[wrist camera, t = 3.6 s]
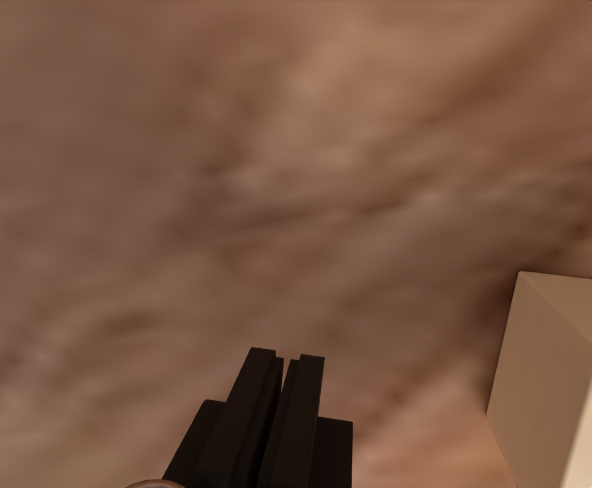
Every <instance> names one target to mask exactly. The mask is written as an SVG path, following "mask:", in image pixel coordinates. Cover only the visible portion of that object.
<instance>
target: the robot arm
mask: <svg viewBox="0 0 592 488" xmlns="http://www.w3.org/2000/svg"><path fill="white" fill-rule="evenodd" d="M324 360H325V357H319V356H311V355H304V354H301V356H300V360H294V359H291V360H290V363H289V367H288V371H287V374H286V378H285V381H284V385H283V388H282V392H281V387H282V376H283V365H284V358H280V357H276V351H275V350H269V349H262V348H255V347H251V349H250V351H249V353H248V355H247V357H246V359H245V362H244V364H243V366H242V368H241V370H240V372H239V375H238V377H237V379H236V381H235V383H234V385H233V388H232V390H231V392H230V394H229V396H228V398H227V401H226V402H221V401H214V400H208V399H207V400H205V401H204V402H203V404H202V405H201V407H200V409H199V411H198V413H197V414H196V416H195V418H194V420H193V422H192V424H191V426H190V427H189V429H188V431H187V433H186V435H185V437H184V439H183V440H182V442H181V444H180V446H179V448H178V450H177V452H176V453H175V455H174V457H173V459H172V461H171V463H170V464H169V466H168V468H167V470H166V472H165V474H164V476H163V477H162V479H154V480H144V481H141V482H137V483H134V484H131V485H129V486H128V487H126V488H352V442H353V422H350V421H344V420H337V419H331V418H324V417H318V411H319V403H320V394H321V386H322V377H323V368H324Z"/></svg>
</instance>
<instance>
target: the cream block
mask: <svg viewBox="0 0 592 488" xmlns="http://www.w3.org/2000/svg"><path fill="white" fill-rule="evenodd" d="M486 417H487V419H488V422H489V424H490V426H491V429H492V431H493V433H494V435H495V438H496V440H497V442H498V445H499V447H500V449H501V451H502V454H503V456H504V458H505V461H506V463H507V465H508V467H509V470H510V472H511V474H512V477H513V479H514V481H515V484H516V486H517V488H592V279H586V278H577V277H569V276H560V275H551V274H543V273H534V272H526V271H520V272H519V273H518V276H517V281H516V285H515V290H514V294H513V299H512V303H511V307H510V312H509V316H508V321H507V325H506V330H505V334H504V338H503V343H502V347H501V352H500V356H499V361H498V365H497V369H496V374H495V378H494V383H493V387H492V392H491V396H490V400H489V405H488V409H487V414H486Z"/></svg>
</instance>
